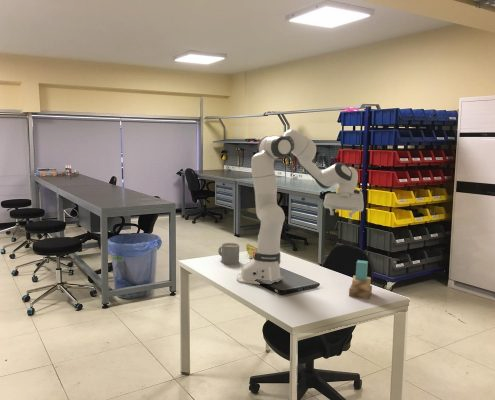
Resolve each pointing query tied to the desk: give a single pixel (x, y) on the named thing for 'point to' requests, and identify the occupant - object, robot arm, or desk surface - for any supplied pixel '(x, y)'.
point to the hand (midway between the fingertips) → (340, 215)
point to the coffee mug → (229, 253)
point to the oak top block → (361, 284)
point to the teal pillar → (361, 270)
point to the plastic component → (250, 249)
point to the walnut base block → (360, 293)
